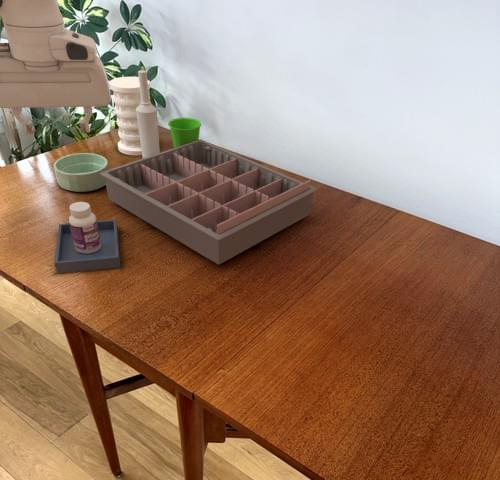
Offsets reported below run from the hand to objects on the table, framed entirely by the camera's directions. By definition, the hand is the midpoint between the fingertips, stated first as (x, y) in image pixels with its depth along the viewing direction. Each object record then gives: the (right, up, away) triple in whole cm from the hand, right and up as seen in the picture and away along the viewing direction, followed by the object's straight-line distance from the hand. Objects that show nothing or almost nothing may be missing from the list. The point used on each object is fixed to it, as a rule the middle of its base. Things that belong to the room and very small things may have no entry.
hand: (58, 132), depth 83 cm
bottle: (+8, +8, +44) cm, 46 cm away
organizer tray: (+25, -7, +30) cm, 39 cm away
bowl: (-9, +4, +38) cm, 39 cm away
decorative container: (+1, +20, +56) cm, 59 cm away
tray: (0, -18, +15) cm, 24 cm away
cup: (+16, +13, +50) cm, 54 cm away
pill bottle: (0, -18, +15) cm, 24 cm away
